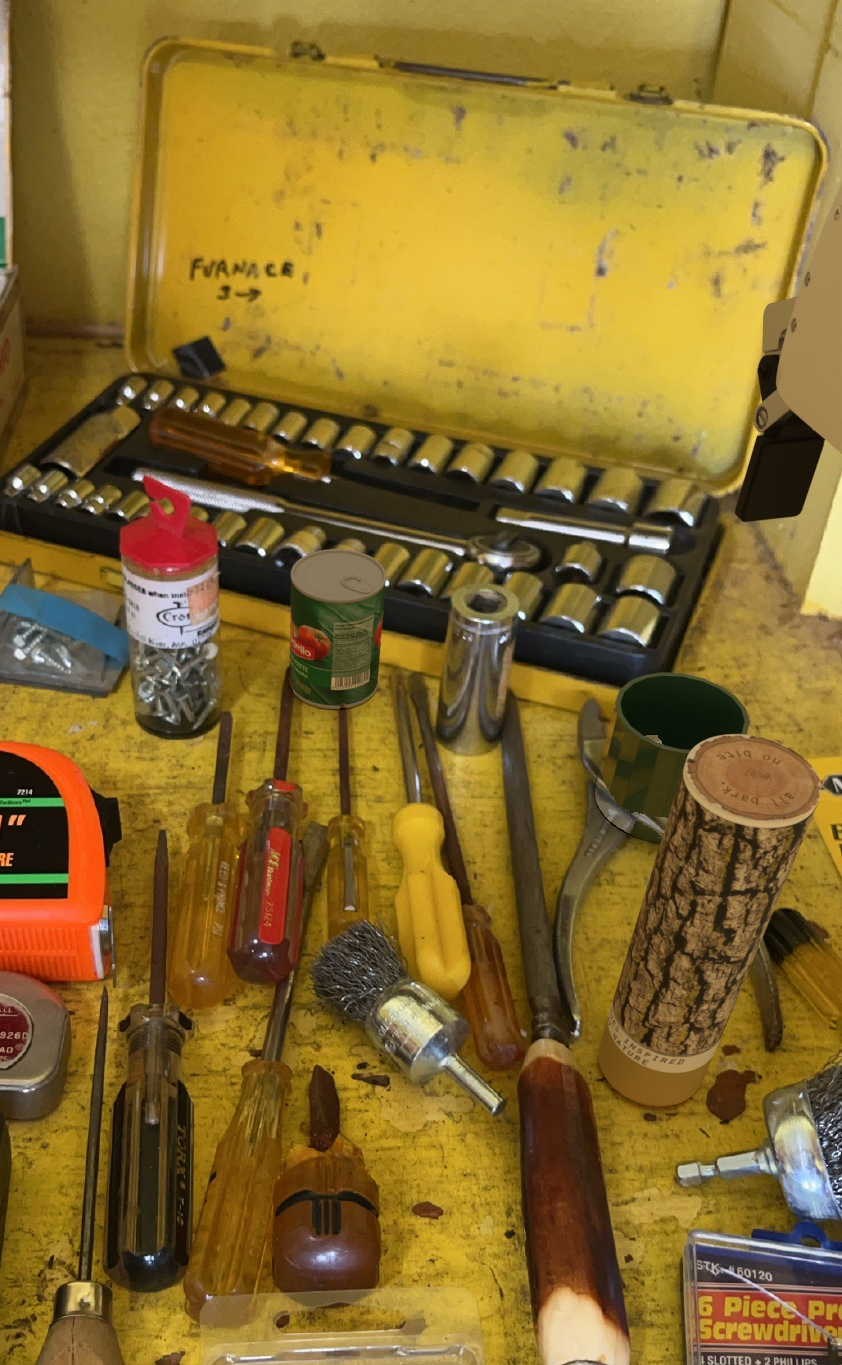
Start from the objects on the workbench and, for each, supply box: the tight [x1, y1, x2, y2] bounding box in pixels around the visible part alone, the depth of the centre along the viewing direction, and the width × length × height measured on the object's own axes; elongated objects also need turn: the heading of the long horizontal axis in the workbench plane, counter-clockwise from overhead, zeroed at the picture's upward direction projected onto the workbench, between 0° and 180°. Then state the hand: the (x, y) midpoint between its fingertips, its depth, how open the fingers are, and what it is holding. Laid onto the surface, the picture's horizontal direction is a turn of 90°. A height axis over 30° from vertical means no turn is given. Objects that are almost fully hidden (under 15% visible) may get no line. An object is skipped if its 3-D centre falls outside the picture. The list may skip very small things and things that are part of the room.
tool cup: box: [600, 672, 751, 844], centre depth 97 cm, size 10×10×9 cm
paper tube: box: [597, 734, 822, 1108], centre depth 73 cm, size 7×7×25 cm
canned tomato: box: [289, 548, 387, 710], centre depth 107 cm, size 8×8×11 cm
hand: (821, 570), depth 55 cm, fingers open, 9 cm apart
